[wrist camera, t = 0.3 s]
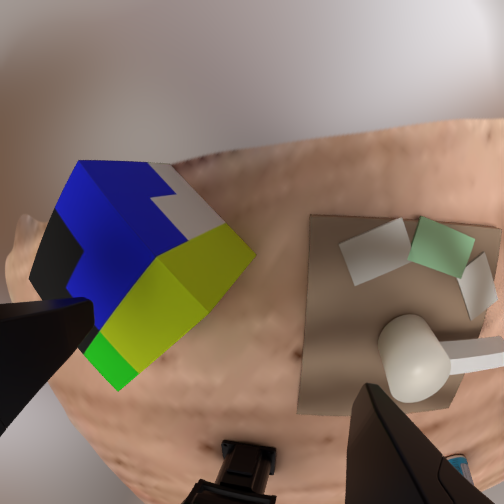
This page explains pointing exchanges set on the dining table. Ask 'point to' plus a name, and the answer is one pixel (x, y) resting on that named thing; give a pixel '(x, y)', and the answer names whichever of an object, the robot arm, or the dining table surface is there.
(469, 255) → the board
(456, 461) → the beverage bottle
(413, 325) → the lever
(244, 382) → the dining table surface
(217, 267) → the puzzle toy
